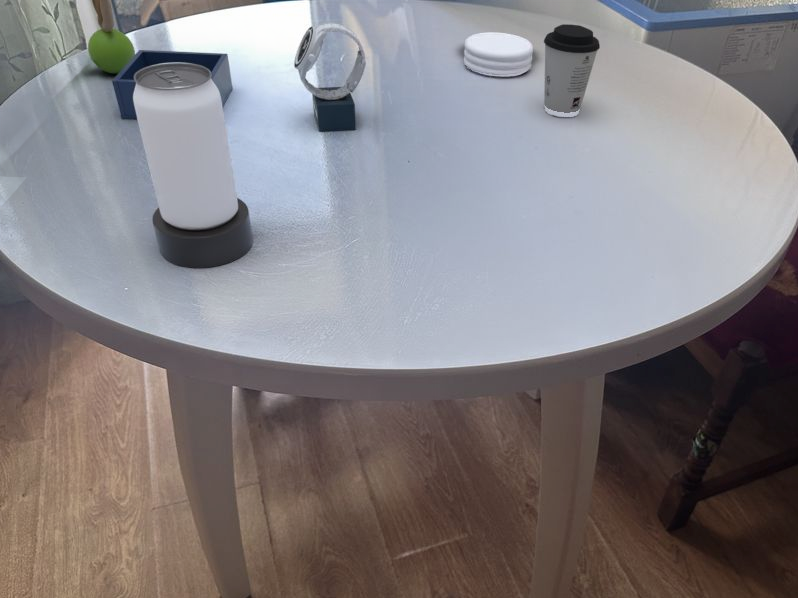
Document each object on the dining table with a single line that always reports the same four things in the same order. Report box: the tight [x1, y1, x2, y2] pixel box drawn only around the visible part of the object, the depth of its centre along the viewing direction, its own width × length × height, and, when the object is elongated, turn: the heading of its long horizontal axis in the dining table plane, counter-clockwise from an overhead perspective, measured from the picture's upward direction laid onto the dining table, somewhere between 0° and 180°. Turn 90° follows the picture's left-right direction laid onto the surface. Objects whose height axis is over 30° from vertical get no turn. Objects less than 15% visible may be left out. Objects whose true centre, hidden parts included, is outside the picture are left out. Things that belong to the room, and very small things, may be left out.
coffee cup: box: [543, 23, 601, 113], centre depth 90 cm, size 7×7×10 cm
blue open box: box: [111, 49, 233, 120], centre depth 86 cm, size 11×11×4 cm
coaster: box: [463, 31, 534, 75], centre depth 104 cm, size 10×10×4 cm
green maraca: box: [87, 0, 136, 75], centre depth 90 cm, size 5×6×12 cm
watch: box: [293, 21, 367, 133], centre depth 83 cm, size 6×8×11 cm
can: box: [133, 62, 238, 231], centre depth 58 cm, size 6×6×12 cm
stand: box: [151, 197, 254, 269], centre depth 63 cm, size 8×8×3 cm
